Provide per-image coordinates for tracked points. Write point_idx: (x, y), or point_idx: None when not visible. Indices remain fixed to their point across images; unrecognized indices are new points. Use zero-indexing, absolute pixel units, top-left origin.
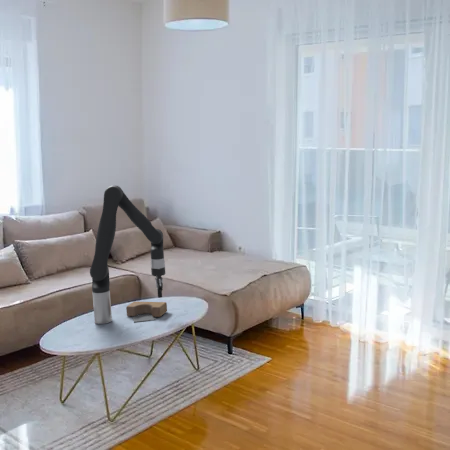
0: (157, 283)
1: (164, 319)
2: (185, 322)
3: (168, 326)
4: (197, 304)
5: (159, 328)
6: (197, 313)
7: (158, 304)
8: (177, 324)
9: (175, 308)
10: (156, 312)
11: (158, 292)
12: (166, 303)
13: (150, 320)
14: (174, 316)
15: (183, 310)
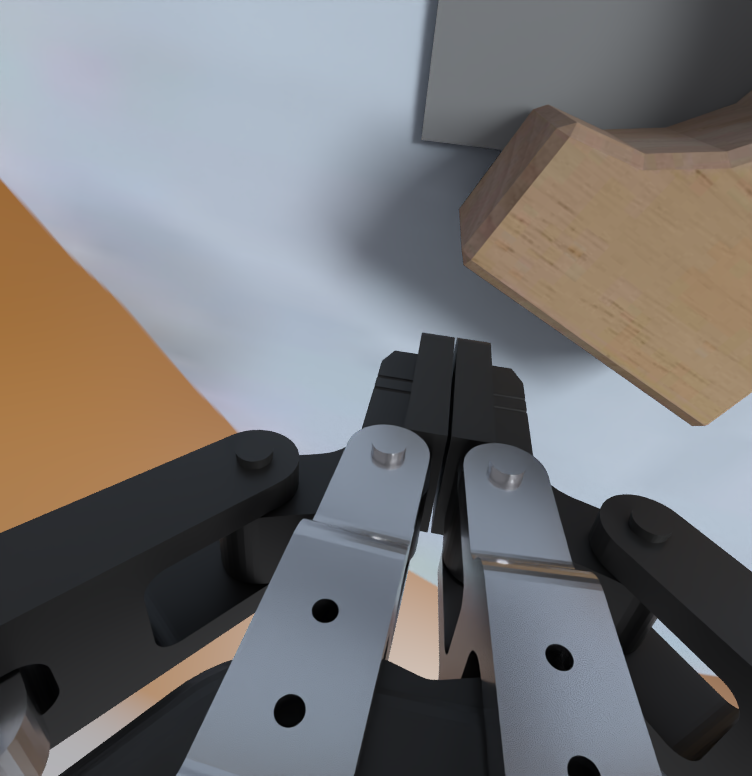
0: (174, 736)
1: (395, 247)
2: (218, 404)
3: (137, 223)
4: (666, 630)
5: (84, 98)
6: (420, 552)
7: (663, 291)
8: (180, 326)
9: (714, 463)
10: (493, 183)
11: (406, 418)
12: (685, 417)
13: (434, 40)
14: None
15: (583, 499)
